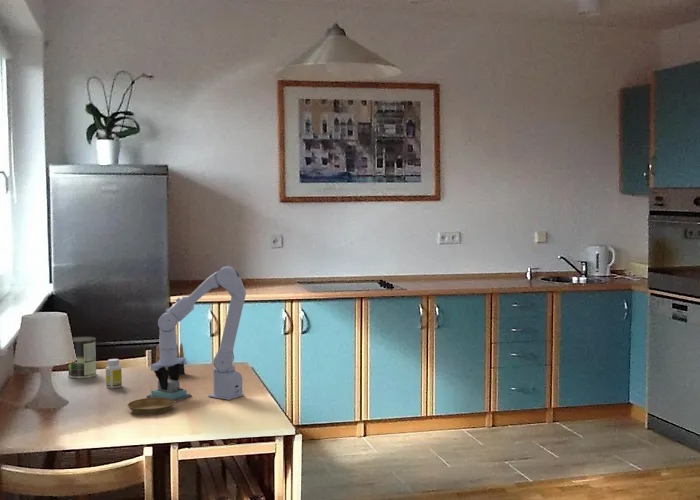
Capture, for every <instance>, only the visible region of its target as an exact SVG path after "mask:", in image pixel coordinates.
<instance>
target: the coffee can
mask: <svg viewBox="0 0 700 500" xmlns="http://www.w3.org/2000/svg"><path fill="white" fill-rule="evenodd" d="M71 338H72V340H73V344H74V349H75V353H76V357H77V362H75V363H72V364H69V365H68V364H67V365H68V366H67V367H68V377H69V378H71V379H87V378H92V377H96V376H97V357H96V356H97V355H96V350H97V349H96V340H97V338H96V337H94V336H75V337H74V336H73V337H71Z"/></svg>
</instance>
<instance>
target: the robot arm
mask: <svg viewBox="0 0 700 500" xmlns="http://www.w3.org/2000/svg"><path fill="white" fill-rule="evenodd" d="M220 286H221V287H222V288H224V289H225V290H226V292H227V293H228V294H229V296H230V297H231V298H230V301H229V305H228V310H227V315H226V319H225V323H224V324H225V325H224V328H223V331H222V336H221V340H220V341H221V342H220V344H219V349H218V351H217V352H216V354H215V356H214V358H213V360H212V361H213V362H212V363H213V367H214V368H212V369H213V374H212V375H213V376H212V377H213V393H211V394H208V395H207V396H208V397H210V398H215V399H222V400H228V401H229V400H235V399H237V398H240V397H242V396H244V395H245V393H243V376H242V373H240V372H239V371H236V370H235V369H236V368H235V366H234V365H233V362H234V360H235V354H234V348H235V343H236V338H237V335H238V330H239V325H240V321H241V316H242V311H243V307H244V304H245V299H246V294H247V291H246V288H245V286H244V284H243V281H242V277H241V275H240V273H239V272H238V270H237V269H235V267H234V266H231V265H224V266H223V267H221V268H220V270H218V271H215V272H214V273H213V274H211V275H209V276H208V277H207V278H206V279H205V280H204V281H203V282H202V283H201V284H199V285H198V286H197V287H196V288H195V290H194V291H192V292H191V293H190V295H188V296H181V297H177V299H175V303H173V305H171V306H170V307H169V308H166V309H165V312H164V313H163V314H161V315H160V317H159V318H158V321H157V326H158V328H159V336H158V337H159V339H158V340H159V341H158V342H159V344H158V345H159V351H160V360H158V362H157V363H156V362H155V363H152V364H150V371H153V372H154V374H155V376H156V375H157V376H156V377H157V379H158V381H159V383H160V386H161V389H162V390H167V386H168V379H171V380H177V381H179V379H180V376H181V375H180V373H181V371H182V369H183V366H182V365H180V364H184V365H185V364H186V361H187V359H186V358H185V357H184V358H182V357H181V358H177V345H178V343H177V341H178V340H177V337H178V336H177V327H176V326H177V325H178V323H179V322H180V323H181V321H183V320H184V319H185V318H186V317H188V315H189V314H190V313H192V312H193V310H194V309H195V303H196V302H198V301H199V300H200V299H201V298H203V296H205V295H206V294H207V293H208V292H209V291H210V290H212V289H217V288H219V287H220ZM167 367H168V370H166V369H165V368H167ZM169 374H170V376H168V375H169Z"/></svg>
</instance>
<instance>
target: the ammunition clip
mask: <svg viewBox="0 0 700 500" xmlns="http://www.w3.org/2000/svg"><path fill="white" fill-rule="evenodd" d="M155 349H156V350H155V351H156V353H155V354H156V355H155V363H157V362H158V360H160V348H159V344H157V345H156V348H155ZM184 354H185V352H184V346H183V343H182V342H181V343H180V345H179V346H178V344H177V358H181V357H182V358H185V355H184ZM180 365H182V366H183V369H182V371H181V373H180V376H183V375H185V374H186V373H185V364H180ZM165 369H166V370H168V367H167V368H165ZM155 377H157V375H156V374H155ZM168 377H170V374H169V375H168Z"/></svg>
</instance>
